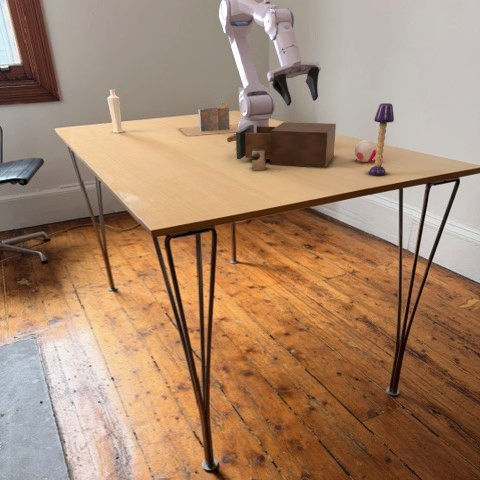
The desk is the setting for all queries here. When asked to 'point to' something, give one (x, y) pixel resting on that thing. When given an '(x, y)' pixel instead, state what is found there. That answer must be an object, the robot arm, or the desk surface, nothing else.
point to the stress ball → (365, 151)
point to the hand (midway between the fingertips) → (302, 101)
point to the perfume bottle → (115, 111)
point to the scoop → (259, 159)
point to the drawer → (251, 140)
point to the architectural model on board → (212, 122)
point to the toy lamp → (381, 135)
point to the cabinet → (302, 144)
